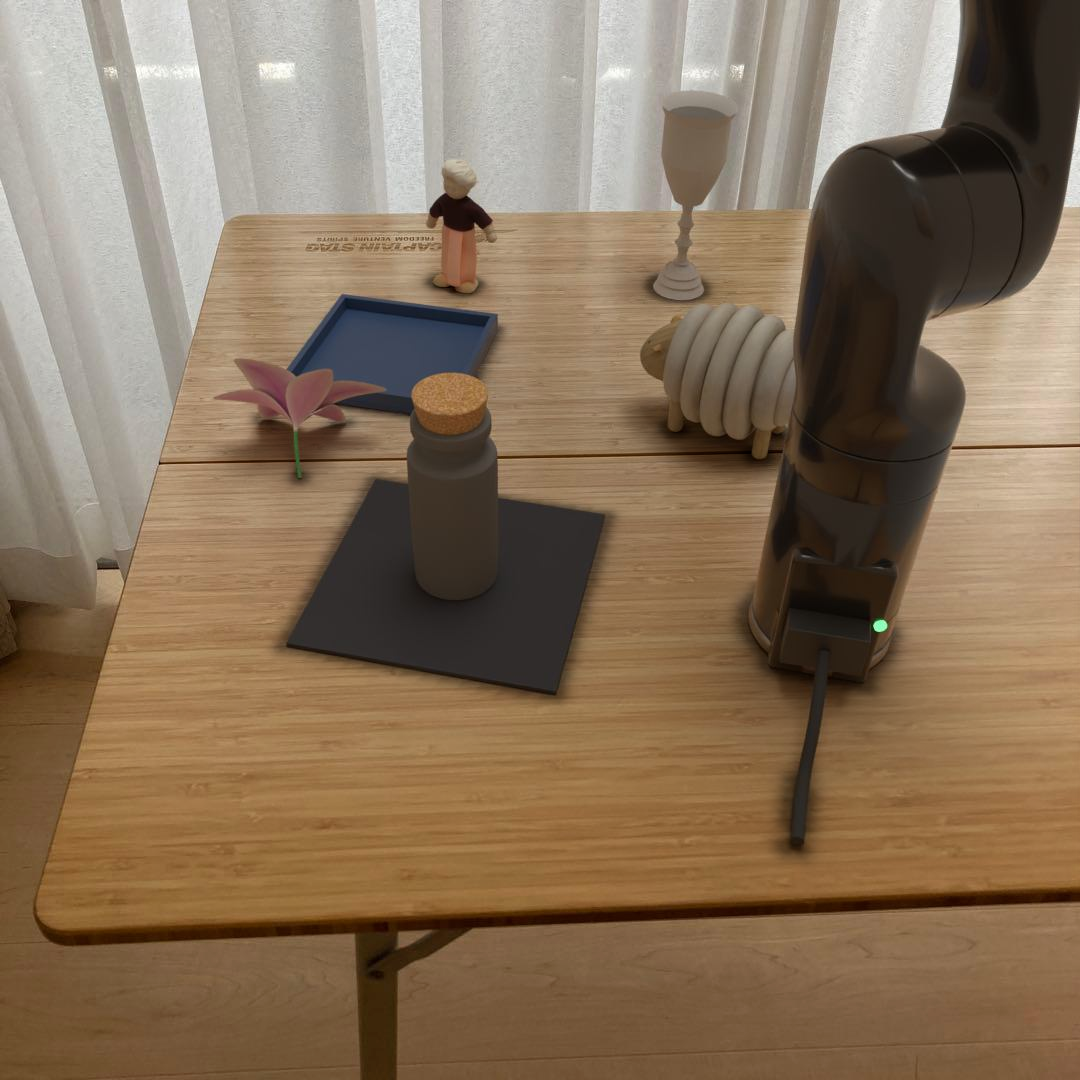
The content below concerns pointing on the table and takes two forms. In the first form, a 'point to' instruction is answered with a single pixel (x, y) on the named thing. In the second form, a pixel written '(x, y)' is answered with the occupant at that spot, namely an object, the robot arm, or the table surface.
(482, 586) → the bottle
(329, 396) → the lily
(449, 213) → the grandmother figurine
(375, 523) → the mat
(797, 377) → the robot arm
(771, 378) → the toy sheep
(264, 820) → the table surface
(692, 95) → the chalice
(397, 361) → the tray
